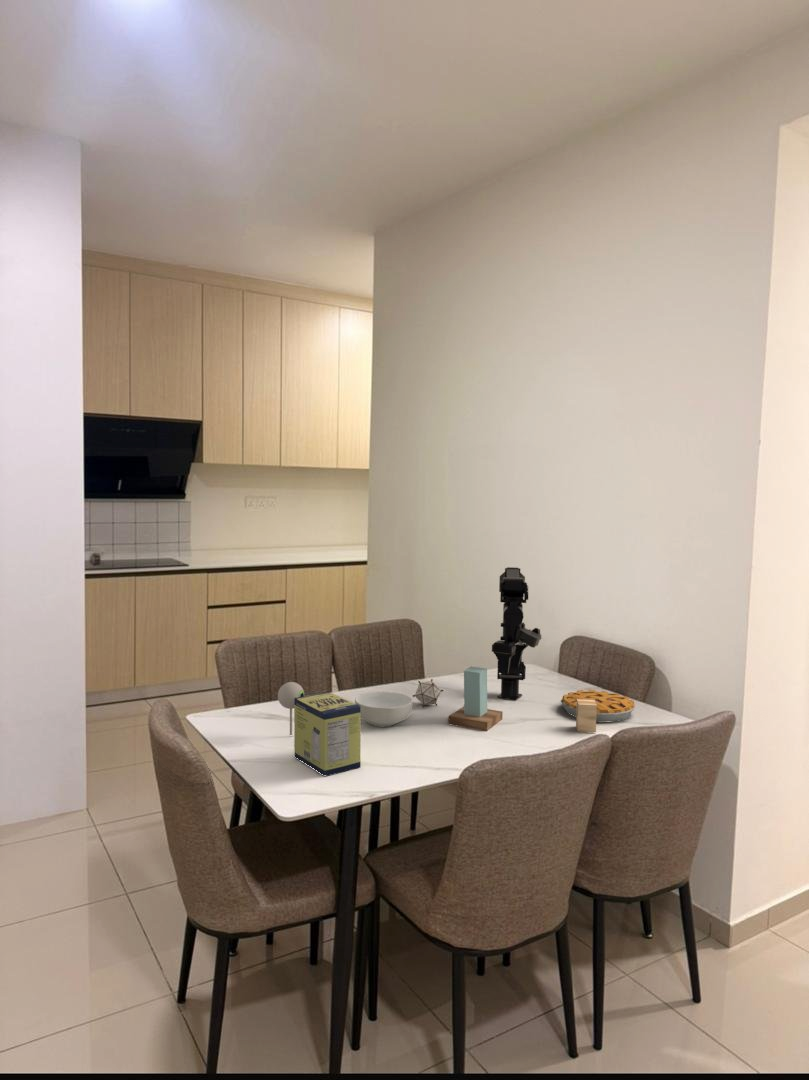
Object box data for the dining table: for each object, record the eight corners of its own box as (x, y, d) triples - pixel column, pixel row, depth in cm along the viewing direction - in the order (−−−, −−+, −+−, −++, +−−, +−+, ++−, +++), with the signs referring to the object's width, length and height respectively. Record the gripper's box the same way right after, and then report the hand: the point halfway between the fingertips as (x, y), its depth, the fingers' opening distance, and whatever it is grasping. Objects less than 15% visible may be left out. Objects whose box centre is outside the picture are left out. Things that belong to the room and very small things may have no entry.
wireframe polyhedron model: (421, 718, 235) (402, 693, 234) (432, 702, 242) (414, 677, 241) (442, 709, 230) (422, 683, 229) (452, 693, 236) (433, 668, 236)
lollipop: (296, 742, 201) (296, 687, 200) (272, 738, 204) (272, 684, 203) (308, 734, 208) (308, 680, 207) (285, 730, 211) (285, 677, 209)
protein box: (328, 749, 197) (328, 690, 196) (361, 767, 184) (362, 705, 183) (293, 757, 191) (293, 697, 189) (324, 777, 178) (324, 713, 177)
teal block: (471, 709, 224) (471, 666, 222) (487, 711, 221) (486, 668, 220) (464, 714, 220) (463, 670, 218) (480, 717, 217) (479, 672, 216)
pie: (602, 729, 216) (603, 712, 215) (546, 710, 233) (546, 694, 233) (649, 716, 229) (650, 699, 228) (592, 698, 246) (593, 683, 246)
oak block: (576, 726, 217) (576, 699, 217) (593, 727, 217) (594, 700, 216) (577, 732, 212) (578, 704, 212) (595, 733, 212) (596, 705, 211)
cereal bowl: (405, 734, 209) (406, 709, 208) (347, 729, 212) (347, 705, 212) (417, 715, 226) (417, 692, 225) (363, 711, 229) (363, 688, 228)
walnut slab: (465, 715, 229) (465, 705, 229) (502, 721, 223) (502, 711, 223) (448, 726, 218) (448, 715, 218) (487, 732, 213) (487, 722, 212)
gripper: (528, 627, 215) (526, 681, 216) (547, 617, 231) (546, 667, 233) (491, 623, 220) (490, 676, 221) (513, 614, 237) (512, 663, 238)
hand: (511, 670), depth 228 cm, fingers open, 9 cm apart
